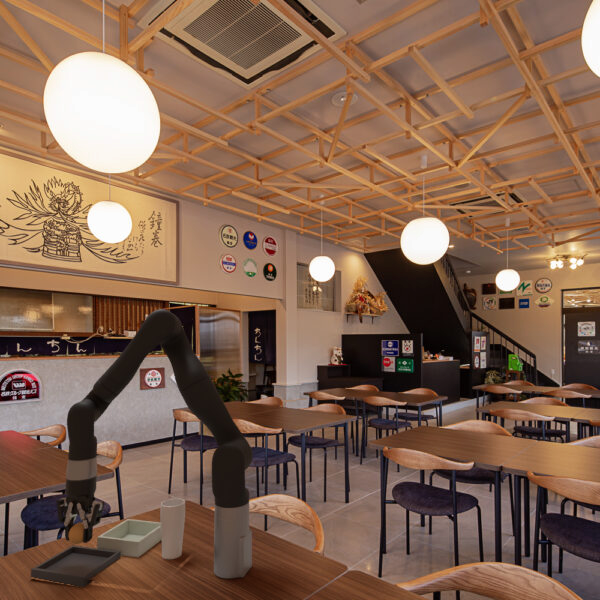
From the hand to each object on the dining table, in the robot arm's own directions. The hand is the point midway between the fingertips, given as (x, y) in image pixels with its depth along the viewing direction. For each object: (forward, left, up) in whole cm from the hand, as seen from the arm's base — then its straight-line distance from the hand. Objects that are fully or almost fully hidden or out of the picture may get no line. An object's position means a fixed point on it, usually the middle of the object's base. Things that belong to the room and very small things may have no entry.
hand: (78, 540), depth 117 cm
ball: (0, 0, -1) cm, 1 cm away
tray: (0, 0, -7) cm, 7 cm away
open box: (-6, -15, -7) cm, 18 cm away
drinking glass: (-21, -12, -8) cm, 25 cm away
